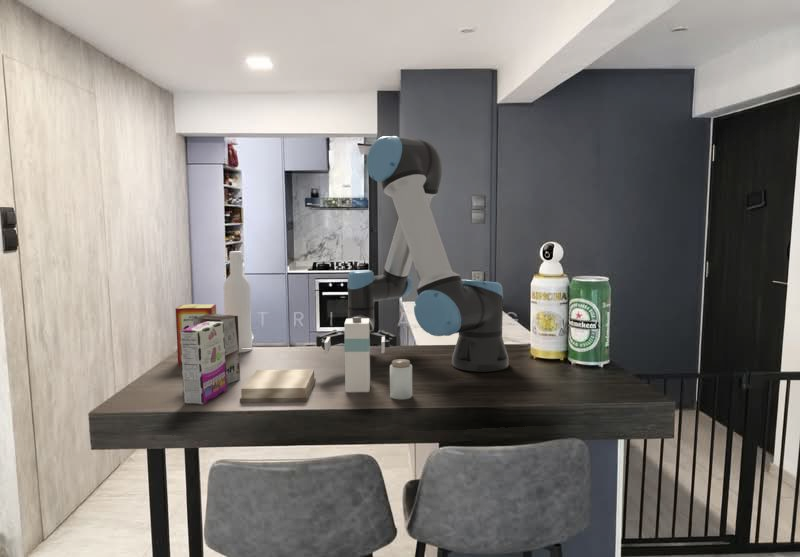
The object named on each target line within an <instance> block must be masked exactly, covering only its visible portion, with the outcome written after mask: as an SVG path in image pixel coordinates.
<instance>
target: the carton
mask: <svg viewBox="0 0 800 557" xmlns="http://www.w3.org/2000/svg"><path fill="white" fill-rule="evenodd" d="M343 325H344V330H343V331H345V339H344V344H343V345H344V377H345V378H344V384H345V385H344V386H345V388H344V389H345V393H370V390H371V389H370V388H371V355H370V354H371V344H370V326H369V318H361V317H353V318H350V319H348V318H346V319H345V321H344V324H343Z"/></svg>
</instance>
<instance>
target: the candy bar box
mask: <svg viewBox="0 0 800 557" xmlns="http://www.w3.org/2000/svg"><path fill="white" fill-rule="evenodd" d="M180 343H181V360H182V365H181V372H182V386H183V387H182V389H183V390H182V391H183V403H184V404H186V405H205V404H207V403H209V402H210V401H212V400H213V399H215V398H216V397H219V395H222V394H223V393H225V392H226V391H227V390H228V384H227V380H226V361H225V342H224V322H216V321H212V322H211V321H207V322H203V323H200V324H197V325H195V326H192V327H189V328H186V329H184V330H181V331H180Z"/></svg>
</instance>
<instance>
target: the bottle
mask: <svg viewBox="0 0 800 557" xmlns="http://www.w3.org/2000/svg"><path fill="white" fill-rule="evenodd" d="M228 257H229V272H230V274H229V275H228V276H227V278H226V279H225V280H224V284H223V305H224V306H223V307H224V309H223V310H224V315H233V316H238V335H239V354H240V353H241V352H242V353H248V352H251V351H252V350H253V332H252V299H251V298H252V297H251V295H252V293H251V283H250V281H249V279H248V278H247V277H246V276H245V275H244V274H243V273H244V272H243V252H242V251H240V250H232V251H229V255H228ZM242 348H252V349H242Z"/></svg>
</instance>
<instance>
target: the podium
mask: <svg viewBox="0 0 800 557" xmlns="http://www.w3.org/2000/svg"><path fill="white" fill-rule="evenodd" d="M315 381H317V379H316V377H315V369H312V368H311V369H310V368H309V369H308V368H307V369H256V370H255V372H254V373H253V374H252V375H251V376H250V377H249V379H248V380H247V381H246V382H245V383H244V384H243V386H242V387H241V389H240V390H241V392H240V394H241V396H240V398H239V403H240V402H242V403H299V402H300V403H302V402H303V403H305V402H306V403H307V402H308V400H309V398H310V396H311V393H312V390H313V388H314V387H315V384H316V382H315Z"/></svg>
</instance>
